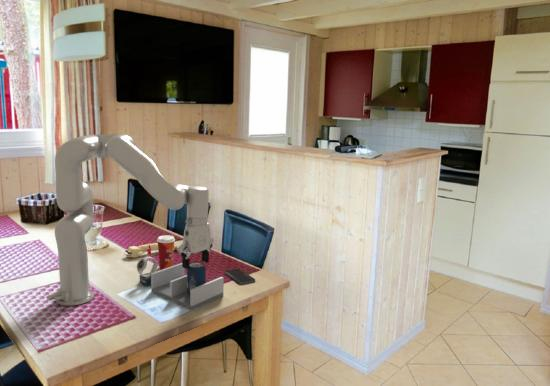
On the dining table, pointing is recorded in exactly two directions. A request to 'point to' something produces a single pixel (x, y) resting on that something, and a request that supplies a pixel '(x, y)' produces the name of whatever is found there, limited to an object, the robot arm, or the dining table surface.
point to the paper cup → (165, 251)
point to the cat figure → (143, 249)
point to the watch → (146, 278)
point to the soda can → (195, 275)
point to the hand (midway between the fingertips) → (195, 264)
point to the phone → (239, 276)
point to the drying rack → (184, 287)
